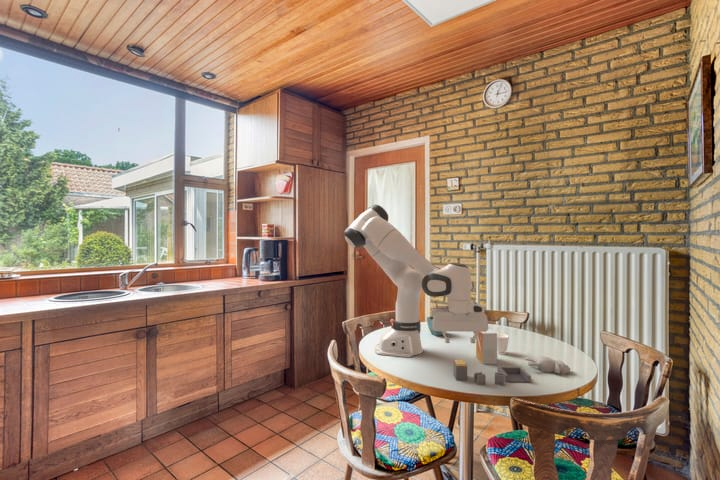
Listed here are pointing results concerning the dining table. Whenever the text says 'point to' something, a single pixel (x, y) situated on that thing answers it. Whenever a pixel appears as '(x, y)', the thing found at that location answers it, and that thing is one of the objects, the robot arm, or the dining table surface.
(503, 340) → the cup
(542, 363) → the bunny figurine
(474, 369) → the dining table surface
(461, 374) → the connector
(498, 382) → the clip
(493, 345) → the small box
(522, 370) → the end holder
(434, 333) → the flower pot
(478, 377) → the clip
